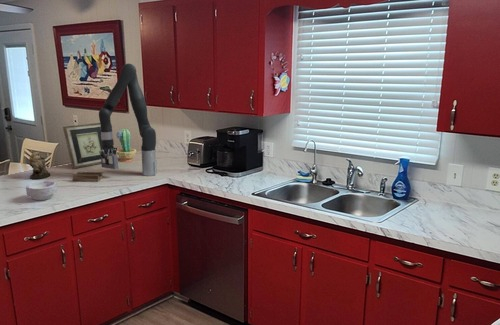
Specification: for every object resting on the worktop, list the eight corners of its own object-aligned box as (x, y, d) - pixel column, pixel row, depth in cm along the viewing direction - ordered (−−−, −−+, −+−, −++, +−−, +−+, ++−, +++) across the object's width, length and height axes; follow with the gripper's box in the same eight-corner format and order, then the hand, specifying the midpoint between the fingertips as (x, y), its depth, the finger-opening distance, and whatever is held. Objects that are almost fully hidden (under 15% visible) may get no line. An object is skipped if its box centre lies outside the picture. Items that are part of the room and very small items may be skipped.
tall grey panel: (105, 166, 279) (104, 153, 277) (118, 168, 274) (117, 155, 272) (101, 167, 276) (100, 154, 274) (114, 169, 271) (113, 155, 269)
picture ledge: (78, 177, 273) (77, 171, 272) (102, 177, 274) (102, 171, 273) (72, 181, 263) (72, 175, 262) (98, 181, 264) (97, 175, 263)
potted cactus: (118, 158, 332) (117, 127, 327) (138, 158, 334) (136, 127, 328) (114, 162, 317) (112, 130, 312) (135, 162, 319) (133, 130, 313)
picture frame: (73, 169, 295) (69, 127, 289) (66, 167, 301) (62, 126, 294) (112, 161, 321) (110, 123, 314) (105, 160, 326) (102, 122, 320)
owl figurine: (47, 179, 268) (44, 154, 264) (27, 181, 265) (24, 155, 261) (52, 172, 285) (49, 148, 281) (33, 174, 282) (30, 149, 278)
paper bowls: (20, 200, 226) (19, 186, 224) (43, 192, 240) (42, 179, 238) (41, 203, 220) (40, 189, 219) (63, 195, 234) (62, 182, 233)
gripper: (111, 136, 278) (113, 161, 282) (94, 139, 266) (97, 165, 270) (119, 137, 275) (121, 162, 279) (103, 140, 263) (105, 166, 267)
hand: (109, 163), depth 274 cm, fingers closed on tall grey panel, 3 cm apart
